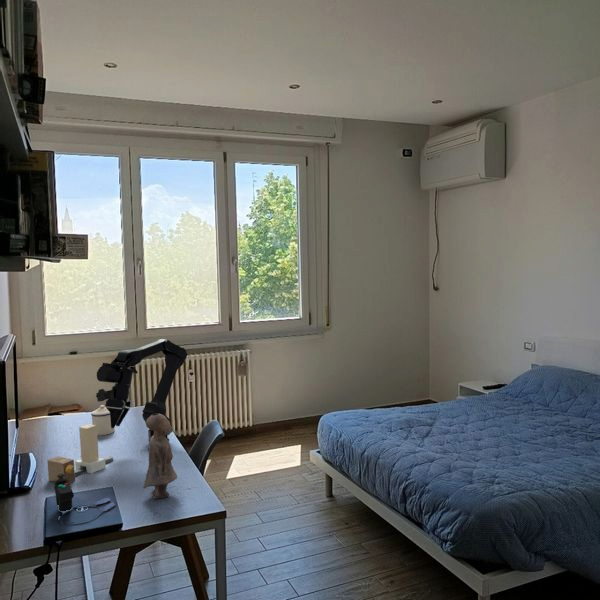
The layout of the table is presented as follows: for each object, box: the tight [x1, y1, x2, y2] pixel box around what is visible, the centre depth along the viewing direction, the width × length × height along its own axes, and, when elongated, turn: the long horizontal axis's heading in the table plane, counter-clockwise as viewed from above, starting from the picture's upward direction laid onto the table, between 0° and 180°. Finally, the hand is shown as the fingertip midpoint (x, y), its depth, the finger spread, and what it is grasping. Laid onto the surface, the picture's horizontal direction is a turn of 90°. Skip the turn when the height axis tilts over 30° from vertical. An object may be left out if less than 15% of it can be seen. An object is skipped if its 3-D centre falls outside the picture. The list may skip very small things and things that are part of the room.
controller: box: [52, 474, 75, 511], centre depth 158 cm, size 4×12×10 cm, turn 32°
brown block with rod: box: [47, 455, 114, 483], centre depth 190 cm, size 22×8×7 cm, turn 150°
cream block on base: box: [74, 423, 106, 474], centre depth 192 cm, size 6×8×15 cm
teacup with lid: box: [91, 404, 115, 436], centre depth 236 cm, size 12×9×12 cm
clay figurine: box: [142, 413, 178, 499], centre depth 167 cm, size 13×10×25 cm
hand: (115, 426), depth 203 cm, fingers open, 9 cm apart
